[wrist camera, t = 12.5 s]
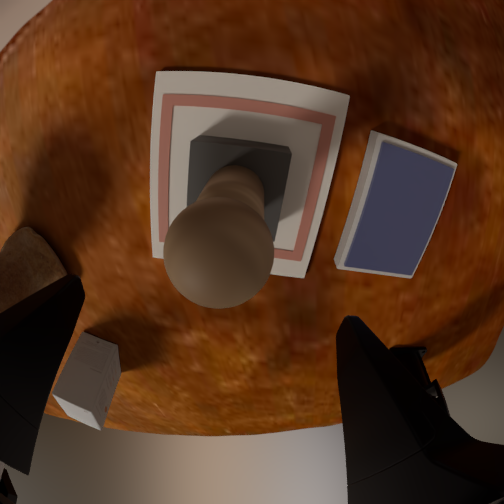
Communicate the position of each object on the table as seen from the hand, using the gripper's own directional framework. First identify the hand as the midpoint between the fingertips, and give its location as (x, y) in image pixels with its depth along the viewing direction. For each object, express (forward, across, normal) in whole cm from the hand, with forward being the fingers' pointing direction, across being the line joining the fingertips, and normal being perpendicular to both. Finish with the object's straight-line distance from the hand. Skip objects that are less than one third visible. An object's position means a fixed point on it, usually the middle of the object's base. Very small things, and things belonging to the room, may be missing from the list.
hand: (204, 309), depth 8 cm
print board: (+13, 0, 0) cm, 13 cm away
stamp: (+12, 0, 0) cm, 12 cm away
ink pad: (+13, -12, 0) cm, 18 cm away
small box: (+13, +16, +26) cm, 33 cm away
